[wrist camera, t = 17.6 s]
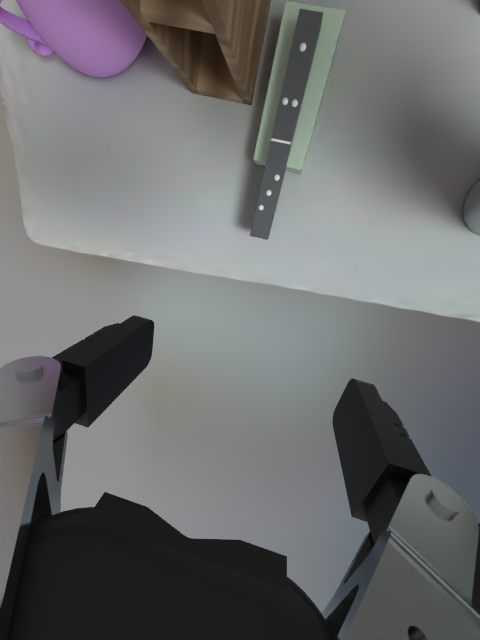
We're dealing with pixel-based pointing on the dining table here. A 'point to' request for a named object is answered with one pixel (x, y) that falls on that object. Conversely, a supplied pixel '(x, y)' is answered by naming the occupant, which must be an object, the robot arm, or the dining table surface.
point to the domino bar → (286, 118)
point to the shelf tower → (208, 41)
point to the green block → (314, 85)
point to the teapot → (80, 33)
